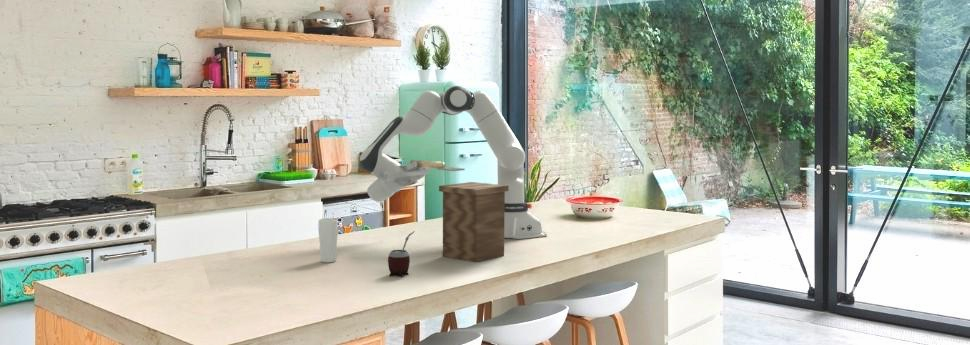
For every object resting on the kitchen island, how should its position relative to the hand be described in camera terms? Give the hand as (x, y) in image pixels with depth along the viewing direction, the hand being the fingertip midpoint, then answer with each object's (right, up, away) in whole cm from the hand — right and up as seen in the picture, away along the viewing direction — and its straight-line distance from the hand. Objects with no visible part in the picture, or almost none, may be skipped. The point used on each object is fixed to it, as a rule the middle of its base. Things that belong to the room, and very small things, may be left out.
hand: (420, 162), depth 334 cm
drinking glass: (-31, -35, -26) cm, 53 cm away
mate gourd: (-3, -38, -47) cm, 60 cm away
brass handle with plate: (+6, -2, -5) cm, 8 cm away
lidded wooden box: (+21, -34, -14) cm, 42 cm away
